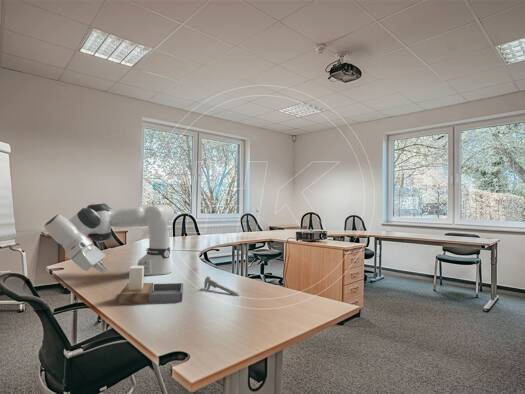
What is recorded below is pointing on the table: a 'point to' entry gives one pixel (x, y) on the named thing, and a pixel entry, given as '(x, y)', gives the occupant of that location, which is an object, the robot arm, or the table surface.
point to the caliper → (218, 286)
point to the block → (136, 277)
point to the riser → (136, 294)
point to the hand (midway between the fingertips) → (105, 271)
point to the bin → (166, 293)
